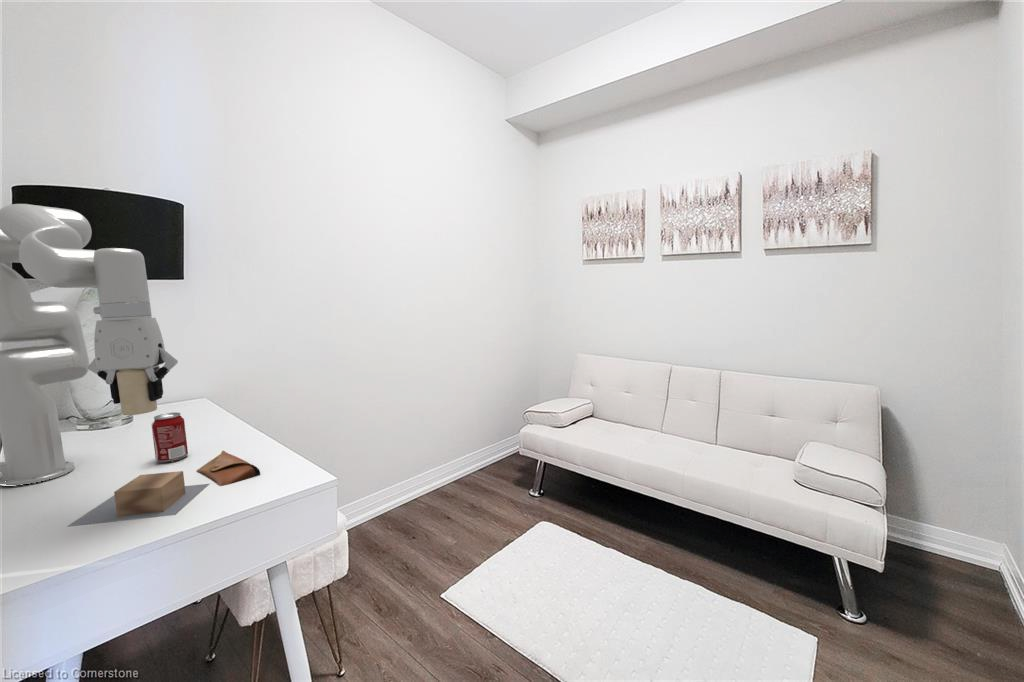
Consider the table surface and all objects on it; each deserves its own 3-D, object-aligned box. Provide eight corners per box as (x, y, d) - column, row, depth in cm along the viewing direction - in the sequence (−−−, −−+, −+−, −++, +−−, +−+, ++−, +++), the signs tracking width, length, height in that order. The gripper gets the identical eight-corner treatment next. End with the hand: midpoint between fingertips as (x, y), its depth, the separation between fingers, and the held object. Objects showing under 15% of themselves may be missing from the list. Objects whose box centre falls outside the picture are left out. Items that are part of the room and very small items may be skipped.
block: (117, 516, 84) (114, 491, 84) (143, 497, 92) (140, 474, 91) (164, 511, 86) (161, 487, 85) (185, 493, 94) (183, 470, 93)
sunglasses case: (189, 472, 106) (203, 445, 108) (218, 477, 111) (231, 451, 113) (221, 490, 96) (235, 460, 98) (252, 495, 101) (265, 466, 103)
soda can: (190, 458, 115) (185, 414, 114) (158, 466, 110) (152, 420, 109) (185, 452, 120) (180, 410, 118) (154, 459, 115) (148, 415, 113)
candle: (137, 416, 85) (130, 366, 84) (114, 415, 86) (107, 366, 85) (164, 408, 90) (158, 361, 89) (142, 408, 92) (136, 361, 90)
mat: (67, 529, 81) (66, 526, 81) (118, 495, 95) (118, 492, 95) (175, 517, 84) (175, 514, 84) (210, 486, 98) (209, 483, 98)
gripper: (60, 314, 81) (74, 409, 83) (165, 310, 84) (176, 401, 86) (89, 313, 88) (102, 400, 90) (185, 309, 91) (195, 393, 93)
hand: (138, 400), depth 88 cm, fingers closed on candle, 5 cm apart
